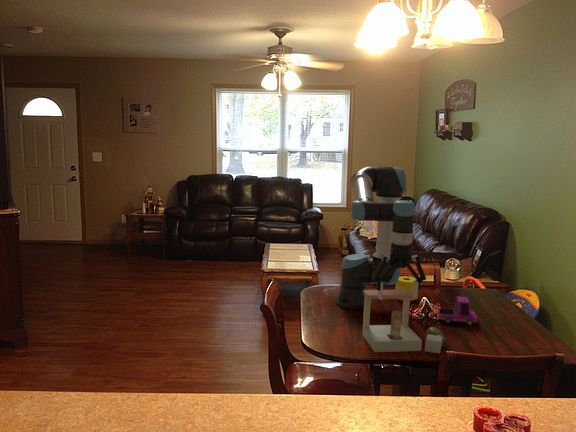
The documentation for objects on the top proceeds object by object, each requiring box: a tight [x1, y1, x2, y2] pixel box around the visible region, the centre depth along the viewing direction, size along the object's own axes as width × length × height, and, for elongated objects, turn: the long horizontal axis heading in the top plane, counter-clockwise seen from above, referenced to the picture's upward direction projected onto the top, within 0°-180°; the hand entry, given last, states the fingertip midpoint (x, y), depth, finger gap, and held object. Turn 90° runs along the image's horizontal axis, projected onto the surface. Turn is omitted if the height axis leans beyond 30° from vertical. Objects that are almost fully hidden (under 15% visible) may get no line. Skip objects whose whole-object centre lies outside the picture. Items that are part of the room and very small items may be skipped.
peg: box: [390, 309, 402, 340], centre depth 196 cm, size 4×4×14 cm
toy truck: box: [437, 295, 478, 326], centre depth 226 cm, size 11×16×10 cm
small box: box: [424, 334, 443, 354], centre depth 195 cm, size 6×6×5 cm
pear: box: [425, 326, 447, 347], centre depth 202 cm, size 6×5×10 cm
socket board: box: [361, 324, 423, 353], centre depth 200 cm, size 16×18×4 cm
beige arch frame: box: [362, 289, 414, 328], centre depth 204 cm, size 6×19×14 cm, turn 98°
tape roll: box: [394, 275, 416, 302], centre depth 255 cm, size 10×10×9 cm
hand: (397, 298), depth 194 cm, fingers open, 13 cm apart
